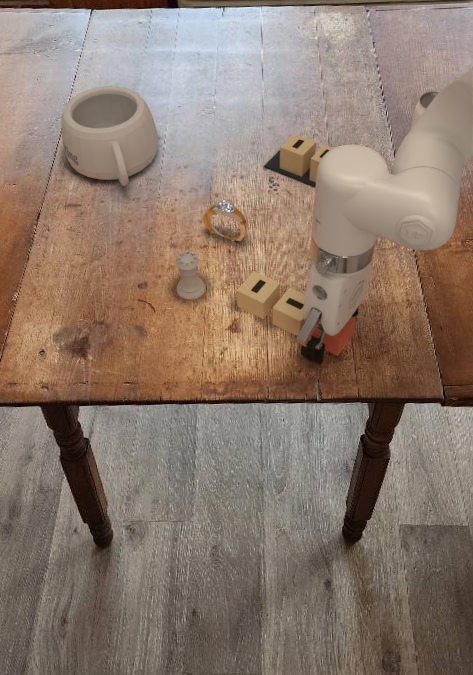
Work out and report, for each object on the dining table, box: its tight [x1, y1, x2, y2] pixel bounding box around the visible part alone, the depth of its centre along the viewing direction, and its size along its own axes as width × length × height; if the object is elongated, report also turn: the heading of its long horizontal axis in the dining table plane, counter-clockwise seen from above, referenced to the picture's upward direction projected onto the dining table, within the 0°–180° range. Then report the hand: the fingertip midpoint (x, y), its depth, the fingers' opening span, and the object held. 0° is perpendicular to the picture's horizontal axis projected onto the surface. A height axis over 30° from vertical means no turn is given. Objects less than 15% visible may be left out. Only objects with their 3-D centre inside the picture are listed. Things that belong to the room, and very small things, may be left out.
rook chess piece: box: [175, 249, 206, 300], centre depth 98 cm, size 4×4×8 cm
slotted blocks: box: [236, 270, 305, 337], centre depth 96 cm, size 20×6×5 cm, turn 56°
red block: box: [312, 316, 357, 357], centre depth 93 cm, size 4×4×5 cm
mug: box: [61, 85, 159, 187], centre depth 118 cm, size 21×17×10 cm
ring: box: [202, 198, 248, 244], centre depth 105 cm, size 7×3×8 cm, turn 61°
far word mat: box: [263, 133, 334, 189], centre depth 115 cm, size 20×6×5 cm, turn 56°
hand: (329, 334), depth 93 cm, fingers open, 9 cm apart
